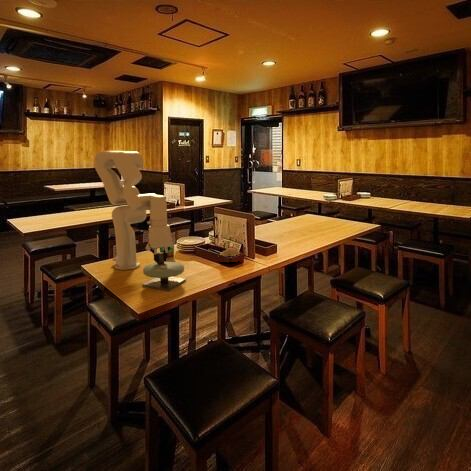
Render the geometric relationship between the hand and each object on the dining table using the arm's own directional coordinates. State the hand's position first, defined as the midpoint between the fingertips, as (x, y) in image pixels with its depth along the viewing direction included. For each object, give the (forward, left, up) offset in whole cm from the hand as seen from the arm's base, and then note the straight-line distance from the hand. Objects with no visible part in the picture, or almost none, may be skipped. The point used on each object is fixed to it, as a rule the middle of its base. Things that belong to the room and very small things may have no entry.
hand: (160, 261), depth 170 cm
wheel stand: (+5, -5, -9) cm, 11 cm away
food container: (-17, +32, -9) cm, 38 cm away
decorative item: (+18, +38, -9) cm, 43 cm away
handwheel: (+5, -5, -3) cm, 7 cm away
